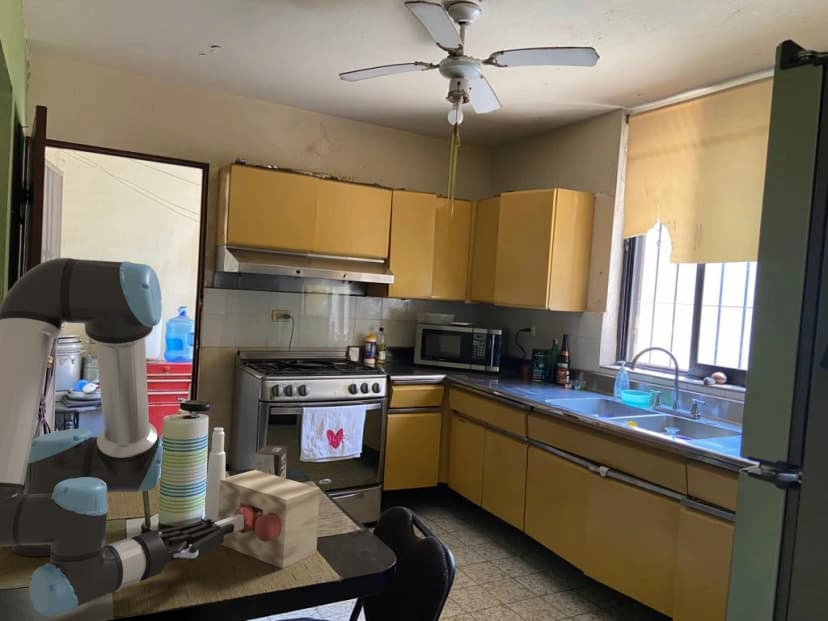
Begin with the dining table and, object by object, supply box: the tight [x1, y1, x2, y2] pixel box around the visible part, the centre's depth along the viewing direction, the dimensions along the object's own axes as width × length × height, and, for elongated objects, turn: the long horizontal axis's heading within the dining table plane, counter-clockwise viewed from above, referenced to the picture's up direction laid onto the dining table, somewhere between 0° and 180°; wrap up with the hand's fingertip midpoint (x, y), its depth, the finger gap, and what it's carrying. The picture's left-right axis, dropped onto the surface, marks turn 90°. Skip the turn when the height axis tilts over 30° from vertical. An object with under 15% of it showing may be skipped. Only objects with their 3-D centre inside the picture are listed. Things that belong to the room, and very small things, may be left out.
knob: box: [234, 505, 263, 533], centre depth 127 cm, size 12×5×5 cm, turn 148°
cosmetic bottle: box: [204, 427, 226, 521], centre depth 143 cm, size 6×6×22 cm
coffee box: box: [253, 445, 288, 479], centre depth 148 cm, size 9×6×16 cm
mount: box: [218, 469, 321, 570], centre depth 126 cm, size 20×12×14 cm, turn 58°
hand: (241, 521), depth 121 cm, fingers closed
